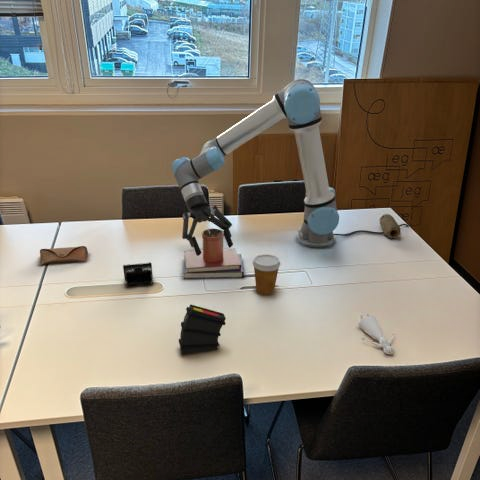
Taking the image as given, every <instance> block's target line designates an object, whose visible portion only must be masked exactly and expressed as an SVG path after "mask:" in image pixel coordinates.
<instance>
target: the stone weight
mask: <svg viewBox="0 0 480 480" xmlns="http://www.w3.org/2000/svg"><path fill="white" fill-rule="evenodd" d="M379 225H380V228H381V230H382V232H384V235H385V236H386V237H387V238H389V239H397V238H399V237H400V235H401V231H402V230H401V226H400V227H399V225H400V224H398V222H397V220H396V219H395V218H394V217H393V216H392V215H391V214H389V213H384V214H382V215H381V216H380V217H379Z"/></svg>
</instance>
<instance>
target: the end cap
mask: <svg viewBox="0 0 480 480" xmlns="http://www.w3.org/2000/svg"><path fill="white" fill-rule="evenodd" d="M122 269H123V277H124V278H123V279H124V281H125V283H126V288H128V289H130V288H137V287H147V286H153V285H154V284H153V279H154V275H153V265H152V262H151V261H150V262H140V263H129V264H123V265H122Z"/></svg>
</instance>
